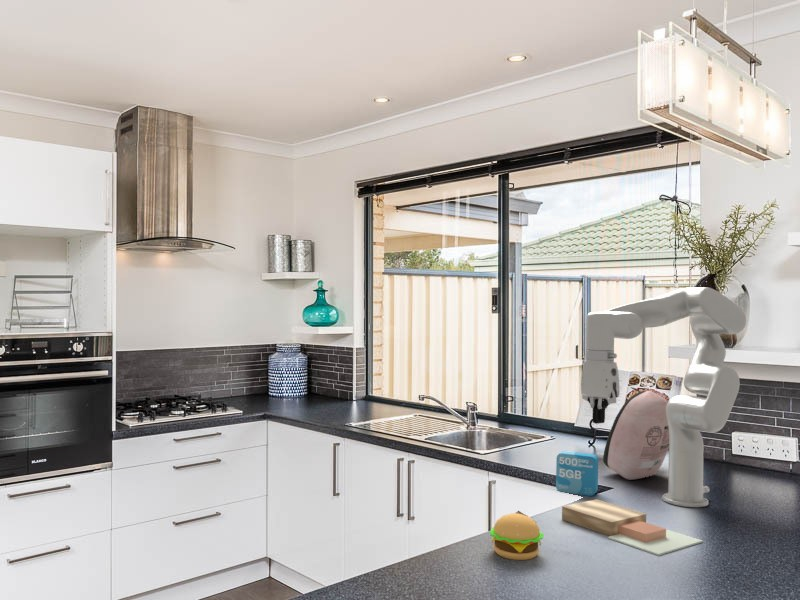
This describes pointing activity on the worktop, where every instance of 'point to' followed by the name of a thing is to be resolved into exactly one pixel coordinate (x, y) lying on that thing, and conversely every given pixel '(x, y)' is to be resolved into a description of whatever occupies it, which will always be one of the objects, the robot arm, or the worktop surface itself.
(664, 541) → the sage mat
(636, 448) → the pink rounded piece
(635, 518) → the oak board
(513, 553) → the hamburger
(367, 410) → the worktop surface
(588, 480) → the data package
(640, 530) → the terracotta coaster
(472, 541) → the worktop surface
